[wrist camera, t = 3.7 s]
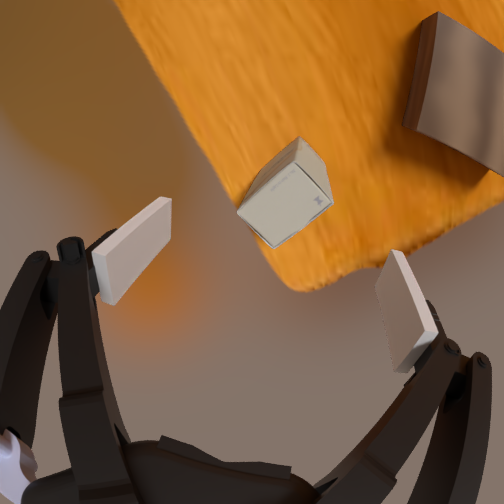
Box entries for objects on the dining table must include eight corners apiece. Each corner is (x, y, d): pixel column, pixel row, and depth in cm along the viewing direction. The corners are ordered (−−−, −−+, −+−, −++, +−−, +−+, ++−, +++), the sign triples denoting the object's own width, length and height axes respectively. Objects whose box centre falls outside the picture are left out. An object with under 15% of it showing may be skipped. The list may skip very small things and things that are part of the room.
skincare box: (299, 134, 28) (295, 155, 18) (326, 164, 29) (337, 202, 19) (258, 171, 31) (232, 211, 21) (285, 198, 32) (273, 251, 22)
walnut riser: (400, 125, 25) (416, 130, 21) (421, 21, 18) (438, 11, 14) (488, 168, 25) (509, 180, 20) (508, 75, 17) (531, 76, 13)
